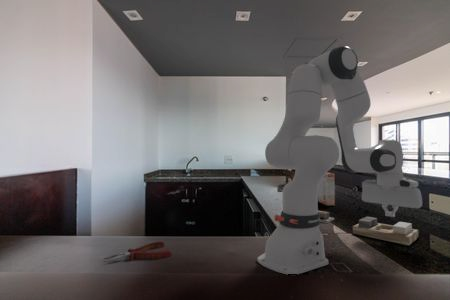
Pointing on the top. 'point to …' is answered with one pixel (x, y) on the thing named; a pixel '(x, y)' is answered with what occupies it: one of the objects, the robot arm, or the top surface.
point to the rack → (383, 231)
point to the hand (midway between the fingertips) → (390, 216)
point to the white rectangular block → (402, 228)
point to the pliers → (141, 253)
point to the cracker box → (327, 190)
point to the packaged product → (324, 217)
